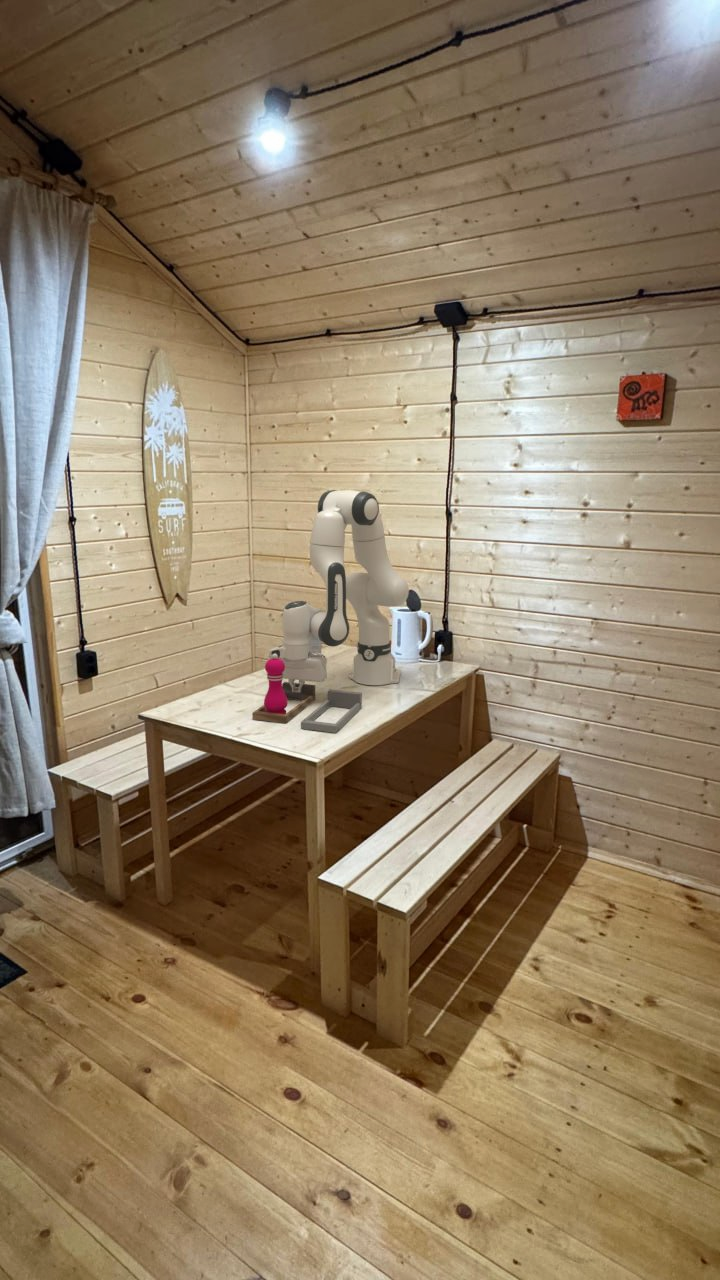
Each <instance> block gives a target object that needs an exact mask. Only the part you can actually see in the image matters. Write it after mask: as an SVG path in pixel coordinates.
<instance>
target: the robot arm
mask: <svg viewBox="0 0 720 1280" xmlns="http://www.w3.org/2000/svg"><path fill="white" fill-rule="evenodd" d="M379 505H380V504H379V502H378V499H377V497H376V496H375V495H374V494H373V493H370V492H368V491H359V490H354V489H344V490H343V489H342V490H335V489H332V490H327V491H325V492H323V493H322V494H321V496H319V499H318V501H317V513H316V515H315V516H314V520H313V523H312V528H311V534H310V542H309V561H310V565H311V566H312V568H313V569H314V571H316V572H317V573H318V574H319V576H320V577H321V579H322V580H323V583H324V585H325V595H326V596H325V597H326V598H325V600H326V601H325V603H326V605H325V610H324V609H322V608H318V607H315V606H313V605H311V604H309V603H308V602H307V601H303V600H297V601H296V600H295V601H291V602H290V603H288V604H286V605H285V606H284V609H283V613H282V632H283V640H282V644H281V645H278V646H275V647H272V648H271V649H270V650H268V656H269V657H268V659H267V661H268V660H269V659H272V655H273V654H277V655H278V659H281V660H282V661H283V662H284V664H285V670H284V671H283V677H284V678H283V679H286V680H288V681H287V682H289V684H290V686H291V687H292V692H296V693H301V692H302V686H303V685H304V684H306V682H314V683H323V682H324V681H325V680H327V678H328V671H327V663H328V662H327V657H326V656H325V655H324V654H322V653H321V654H320V653H318V654H317V653H310V640H311V639H312V638H316V639H318V640H320V641H321V643H323V644H325V645H327V646H328V647H339V646H340V645H342V644H344V642H345V641H346V640H347V639H348V637H349V635H350V624H349V623H350V622H349V619H348V616H347V601H348V602H349V603H350V605H351V606H352V608H353V610H354V611H355V612H354V613H355V615H356V618H357V624H358V642H357V645H356V648H357V649H356V650H357V654H356V655H355V656H353V662H352V663H353V664H352V673H351V674H349V675H348V679H351V680H353V681H354V682H355V683H358V684H361V685H367V686H383V685H390V684H397V683H399V682H400V679H401V675H402V670H401V669H400V668H396V658H395V656H394V655H393V654H392V640H390V629H391V628H390V627H391V626H390V621H389V618H387V617H386V616H385V615H383V613H382V612H381V610H380V609H379V606H381V607H387V608H388V607H398V606H402V605H404V604H405V602H406V601H407V599H408V597H409V595H410V594H409V593H410V592H409V591H410V589H409V584H408V582H407V581H406V580H405V579H404V578H403V577H402V576H400V574H399V573H398V572H397V571H396V570H395V569H394V567H393V565H392V563H391V561H390V559H389V556H388V550H387V546H386V535H385V528H384V525H383V519H382V516H381V512H380V506H379ZM348 525H351V536H352V537H351V538H352V547H353V553H354V558H355V559H354V560H355V561H356V562H357V564H358V565H359V566H361V567H362V568H363V569H364V570H365V571H366V572H354V573H349V574H347V575H346V570H345V559H344V558H345V555H344V554H345V542H346V538H345V537H346V533H345V532H346V531H345V530H346V528H347V526H348ZM267 674H268V673H267V672H266V675H267ZM283 679H282V680H283ZM295 681H298V683H300V685H299V686H295V683H296V682H295Z"/></svg>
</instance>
